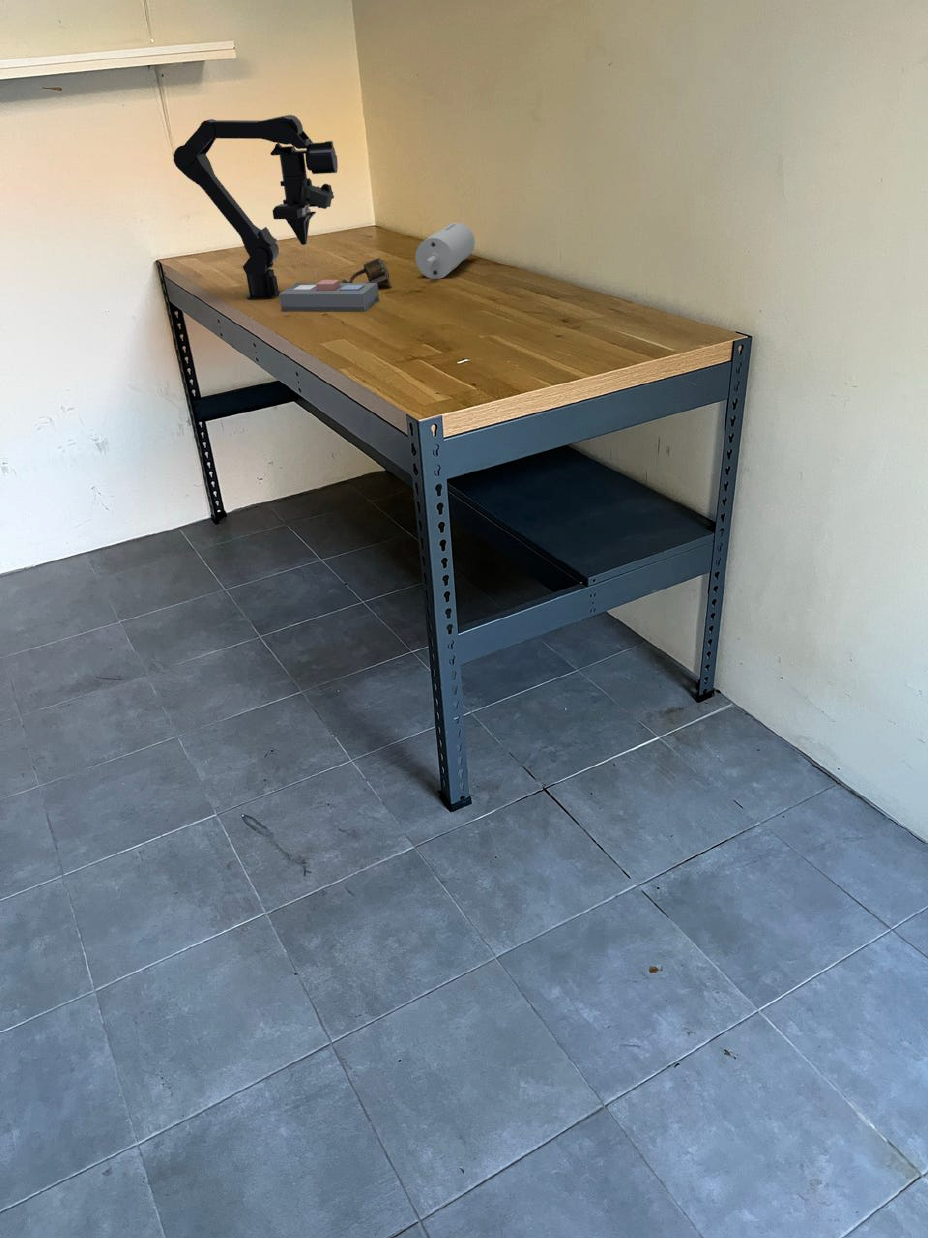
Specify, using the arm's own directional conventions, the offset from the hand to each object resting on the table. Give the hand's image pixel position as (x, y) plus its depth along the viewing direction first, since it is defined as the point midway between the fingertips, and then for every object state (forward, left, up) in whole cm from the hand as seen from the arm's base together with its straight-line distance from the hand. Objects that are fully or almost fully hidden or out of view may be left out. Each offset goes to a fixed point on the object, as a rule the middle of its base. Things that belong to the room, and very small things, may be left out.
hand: (304, 244), depth 231 cm
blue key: (+15, -11, -11) cm, 22 cm away
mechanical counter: (+13, +7, -12) cm, 19 cm away
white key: (+3, -11, -11) cm, 16 cm away
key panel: (+9, -11, -12) cm, 19 cm away
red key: (+9, -11, -10) cm, 17 cm away
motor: (+28, +29, -12) cm, 42 cm away
